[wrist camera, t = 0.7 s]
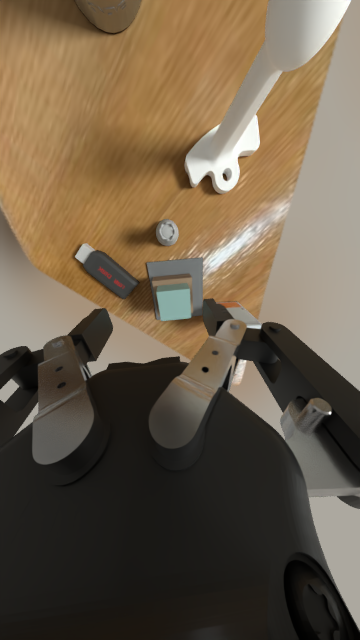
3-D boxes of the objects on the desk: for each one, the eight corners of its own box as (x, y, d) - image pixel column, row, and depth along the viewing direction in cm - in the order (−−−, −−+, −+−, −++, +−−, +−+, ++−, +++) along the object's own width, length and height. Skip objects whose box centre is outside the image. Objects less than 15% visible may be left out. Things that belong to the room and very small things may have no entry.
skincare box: (237, 300, 37) (264, 324, 26) (234, 315, 39) (259, 343, 29) (214, 301, 37) (232, 326, 26) (212, 316, 39) (229, 345, 28)
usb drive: (126, 297, 35) (123, 301, 32) (77, 259, 30) (69, 261, 28) (139, 281, 33) (137, 285, 31) (90, 239, 28) (83, 239, 26)
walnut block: (153, 276, 32) (151, 281, 28) (189, 273, 32) (191, 277, 29) (159, 309, 36) (158, 316, 32) (190, 305, 36) (193, 313, 33)
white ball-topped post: (247, 114, 22) (567, -388, 4) (255, 176, 25) (448, 39, 8) (180, 155, 23) (218, -90, 6) (197, 208, 27) (251, 153, 10)
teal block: (157, 285, 29) (156, 292, 26) (187, 282, 29) (189, 288, 26) (161, 312, 32) (161, 321, 28) (188, 309, 32) (191, 318, 29)
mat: (146, 262, 31) (146, 262, 30) (202, 257, 31) (202, 257, 31) (157, 319, 38) (156, 319, 37) (202, 314, 38) (202, 315, 38)
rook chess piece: (165, 250, 30) (164, 254, 23) (151, 230, 28) (145, 227, 21) (182, 236, 29) (187, 235, 22) (169, 214, 27) (169, 205, 20)
